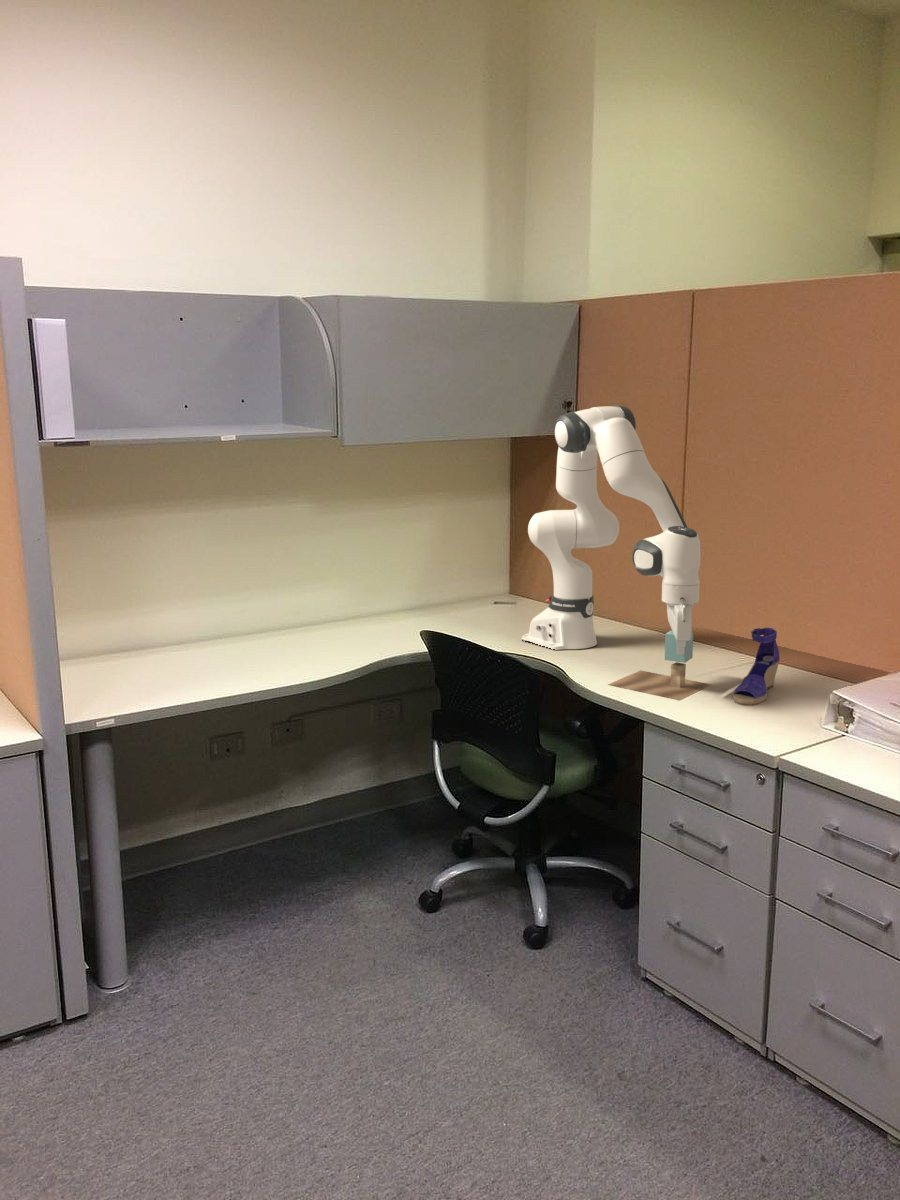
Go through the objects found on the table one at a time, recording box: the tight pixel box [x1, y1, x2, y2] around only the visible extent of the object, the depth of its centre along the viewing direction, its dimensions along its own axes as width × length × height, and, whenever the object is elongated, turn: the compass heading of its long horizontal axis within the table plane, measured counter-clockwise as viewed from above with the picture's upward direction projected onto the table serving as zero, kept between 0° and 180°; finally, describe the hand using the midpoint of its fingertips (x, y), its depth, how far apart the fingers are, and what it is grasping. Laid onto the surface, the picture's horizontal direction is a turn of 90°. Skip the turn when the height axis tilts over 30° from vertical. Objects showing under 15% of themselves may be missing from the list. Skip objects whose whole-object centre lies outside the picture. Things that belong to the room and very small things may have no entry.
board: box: [607, 670, 712, 702], centre depth 248 cm, size 20×16×1 cm
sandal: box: [732, 627, 780, 706], centre depth 240 cm, size 8×20×15 cm, turn 135°
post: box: [670, 662, 687, 688], centre depth 246 cm, size 3×3×6 cm
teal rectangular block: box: [664, 629, 694, 664], centre depth 244 cm, size 5×5×7 cm
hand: (678, 649), depth 245 cm, fingers closed on teal rectangular block, 7 cm apart
